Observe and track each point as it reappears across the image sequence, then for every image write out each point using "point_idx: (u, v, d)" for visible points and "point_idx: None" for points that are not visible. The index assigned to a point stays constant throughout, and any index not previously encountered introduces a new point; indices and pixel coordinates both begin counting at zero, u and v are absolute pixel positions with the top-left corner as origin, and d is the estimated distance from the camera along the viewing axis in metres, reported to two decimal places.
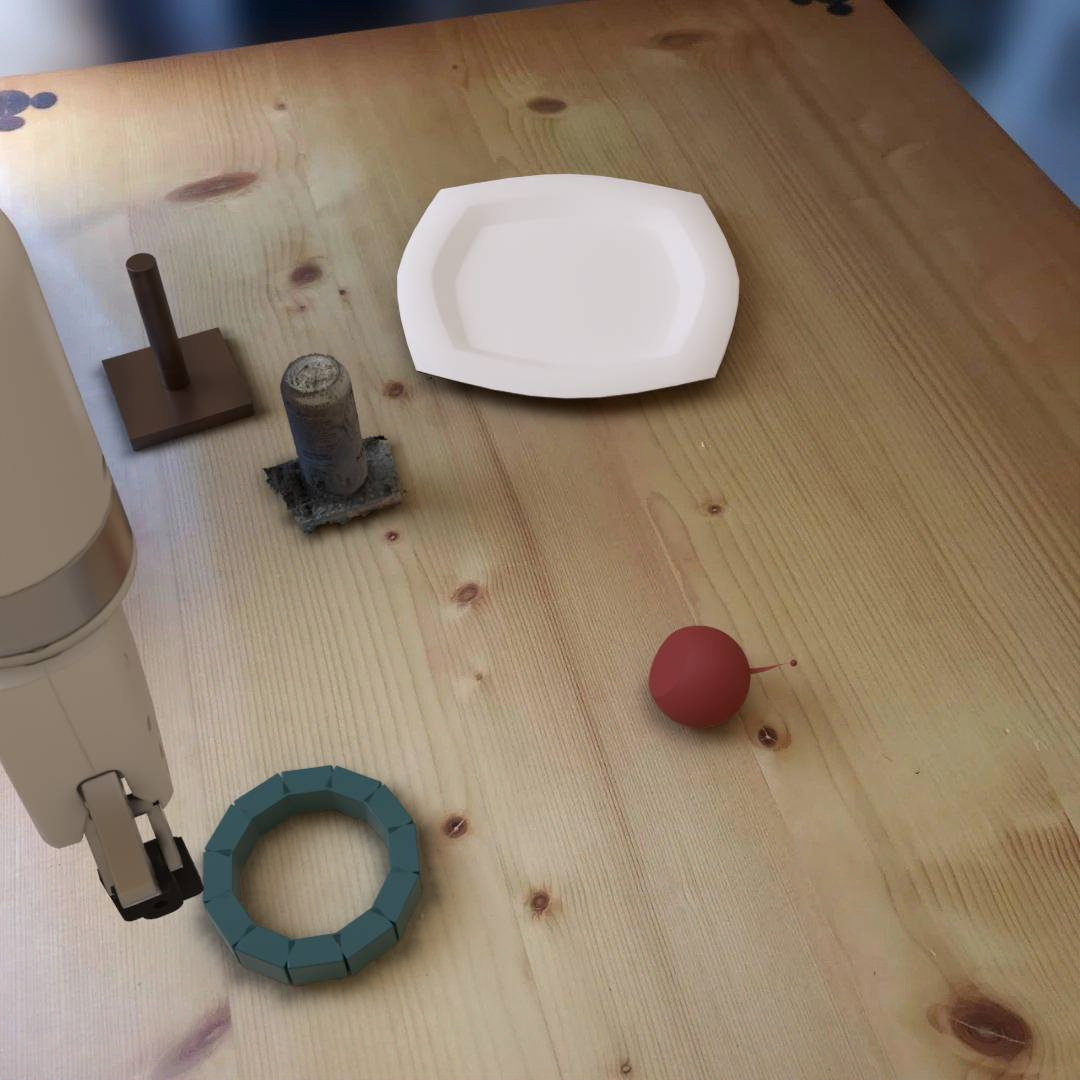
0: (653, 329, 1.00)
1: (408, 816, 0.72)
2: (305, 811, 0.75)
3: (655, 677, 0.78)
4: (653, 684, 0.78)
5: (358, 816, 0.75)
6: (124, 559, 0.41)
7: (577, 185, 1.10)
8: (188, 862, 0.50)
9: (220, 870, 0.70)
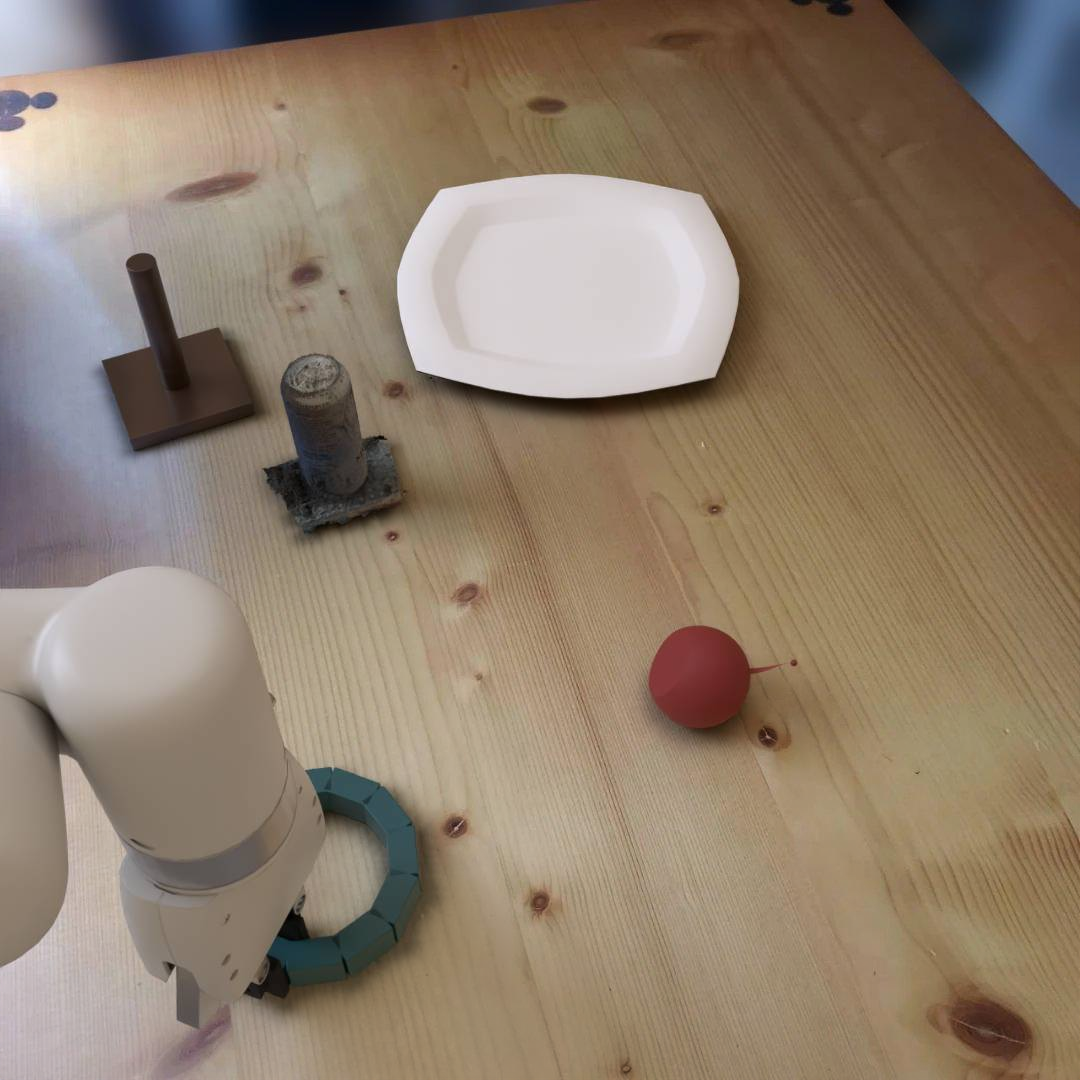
0: (653, 329, 1.00)
1: (407, 817, 0.72)
2: None
3: (655, 677, 0.78)
4: (653, 684, 0.78)
5: (357, 818, 0.74)
6: (253, 865, 0.54)
7: (577, 185, 1.10)
8: (275, 979, 0.66)
9: None
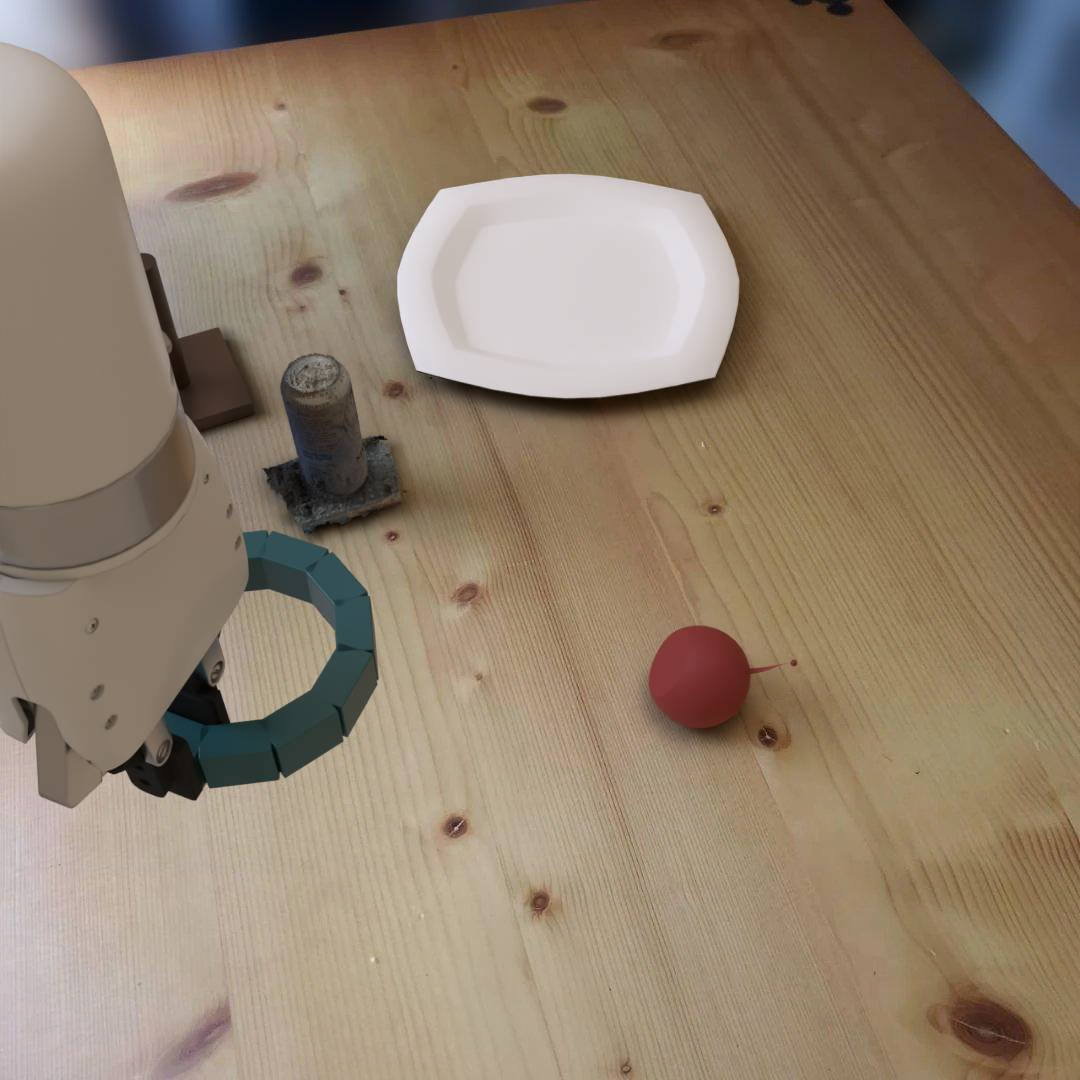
0: (653, 329, 1.00)
1: (362, 587, 0.57)
2: None
3: (655, 677, 0.78)
4: (653, 684, 0.78)
5: (299, 595, 0.59)
6: (126, 536, 0.38)
7: (577, 185, 1.10)
8: (181, 767, 0.51)
9: None
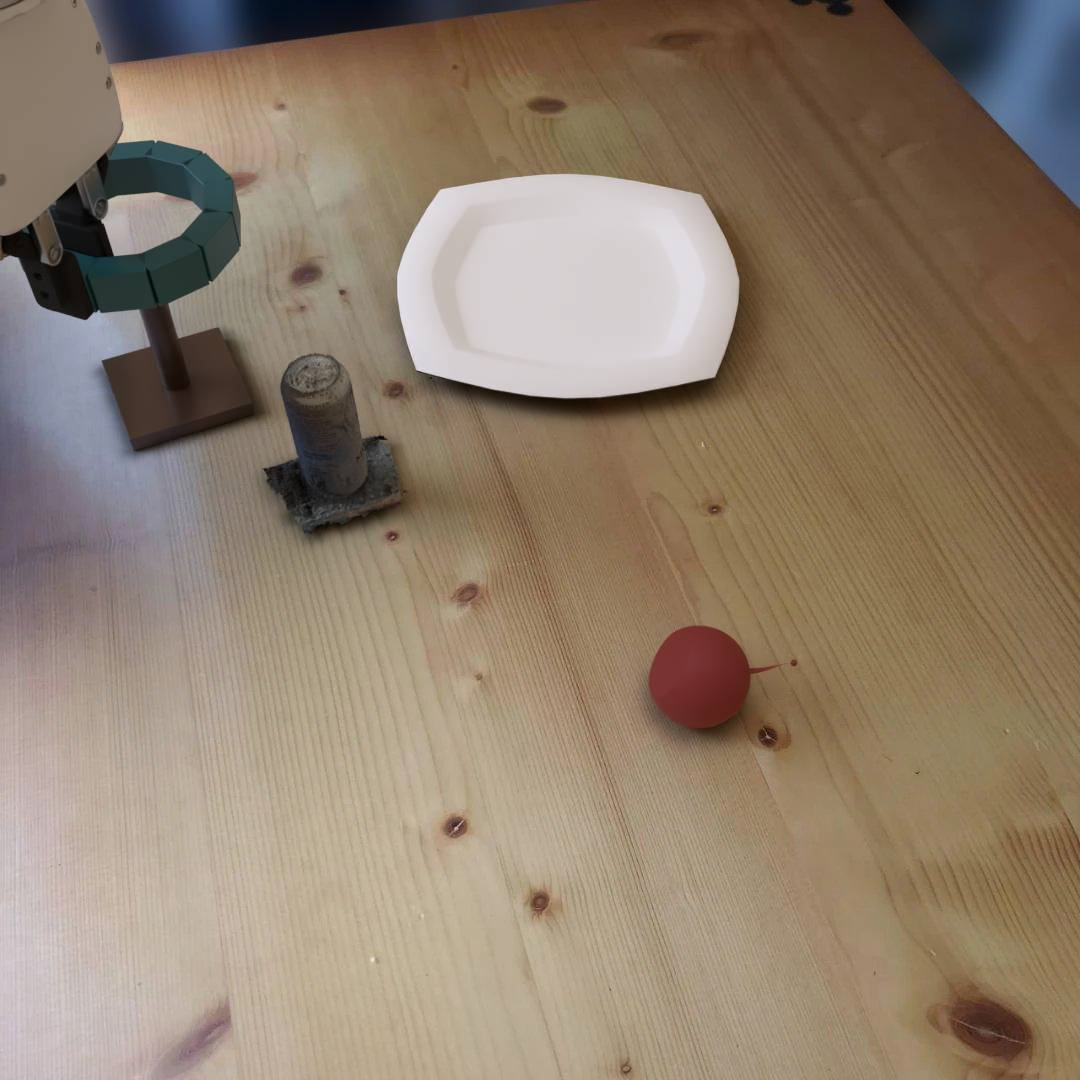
0: (653, 329, 1.00)
1: (227, 173, 0.71)
2: (128, 191, 0.74)
3: (655, 677, 0.78)
4: (653, 684, 0.78)
5: (181, 193, 0.73)
6: None
7: (577, 185, 1.10)
8: (72, 278, 0.65)
9: None
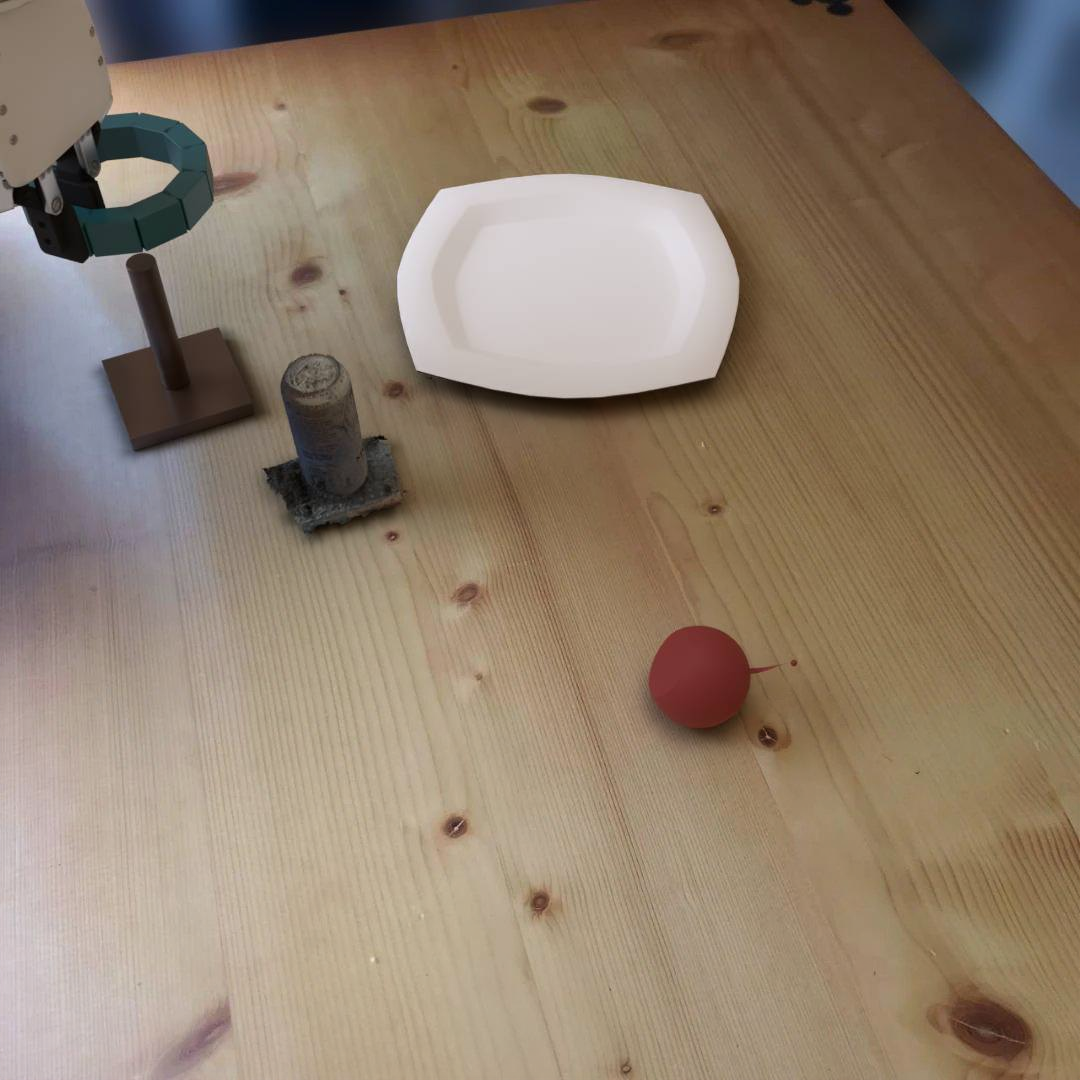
0: (653, 329, 1.00)
1: (201, 139, 0.83)
2: (116, 156, 0.86)
3: (655, 677, 0.78)
4: (653, 684, 0.78)
5: (162, 158, 0.85)
6: None
7: (577, 185, 1.10)
8: (71, 226, 0.77)
9: None
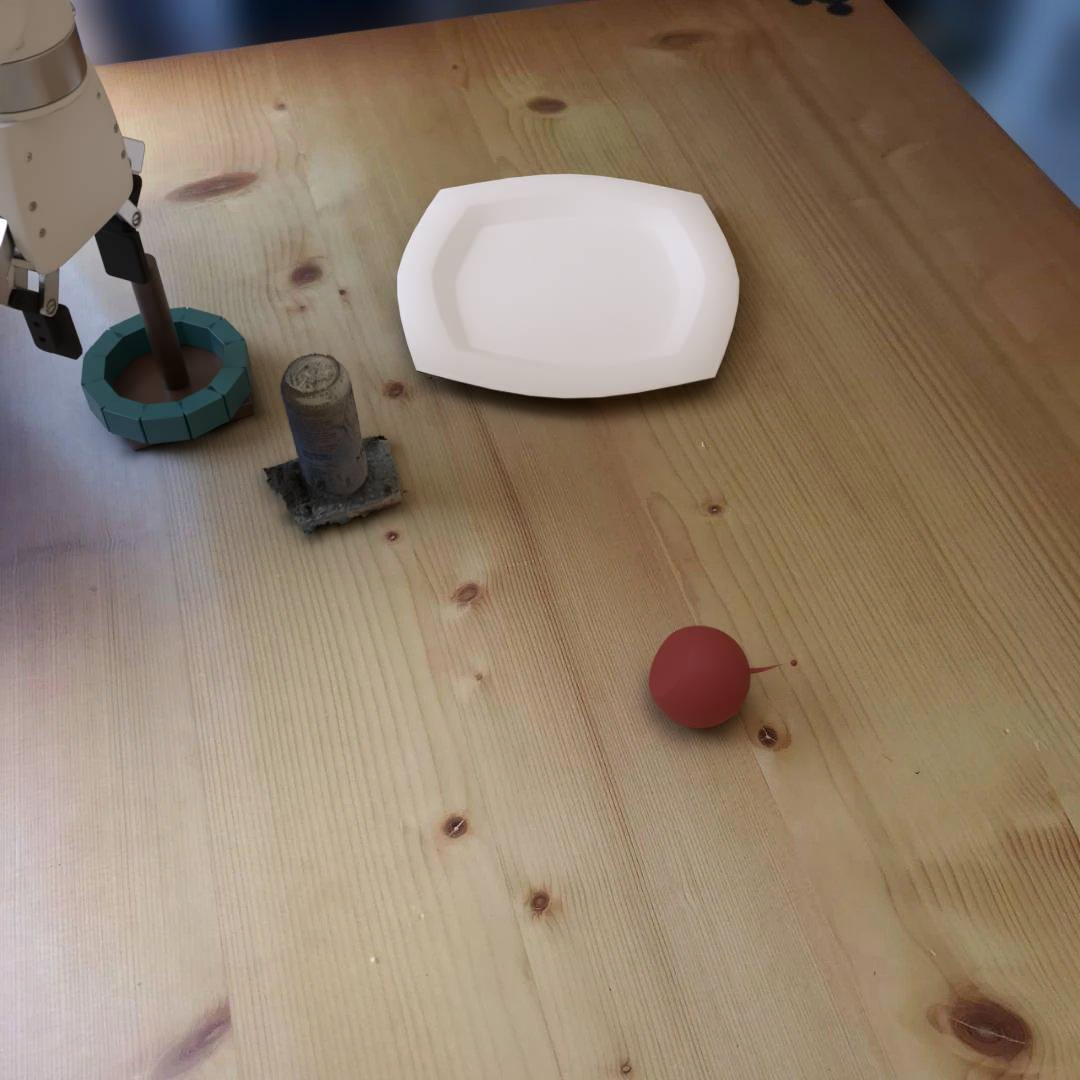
0: (653, 329, 1.00)
1: (241, 335, 0.95)
2: None
3: (655, 677, 0.78)
4: (653, 684, 0.78)
5: (206, 346, 0.98)
6: (45, 95, 0.69)
7: (577, 185, 1.10)
8: (65, 326, 0.79)
9: (95, 366, 0.93)
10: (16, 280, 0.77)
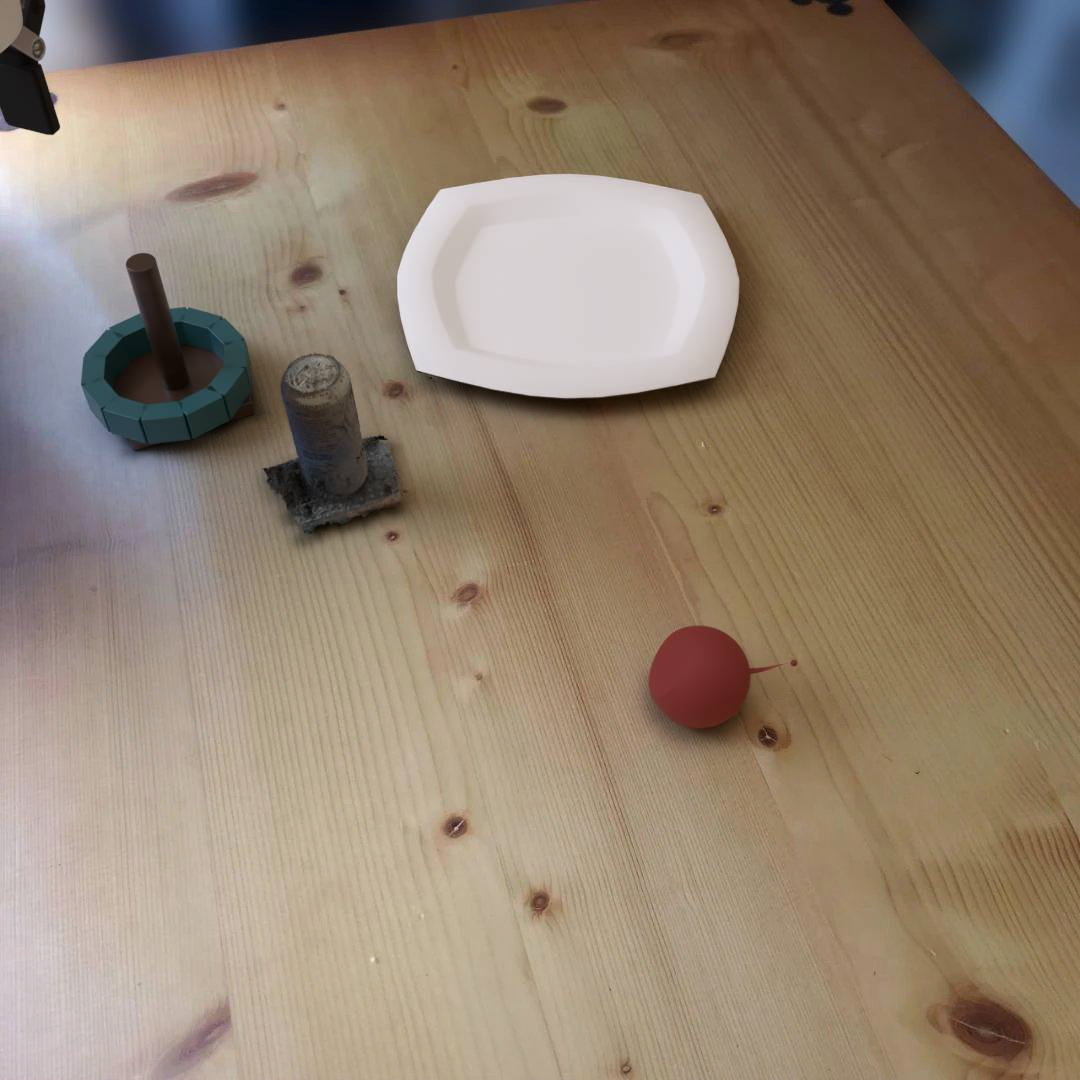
0: (653, 329, 1.00)
1: (241, 335, 0.95)
2: None
3: (655, 677, 0.78)
4: (653, 684, 0.78)
5: (206, 346, 0.98)
6: None
7: (577, 185, 1.10)
8: None
9: (95, 366, 0.93)
10: None
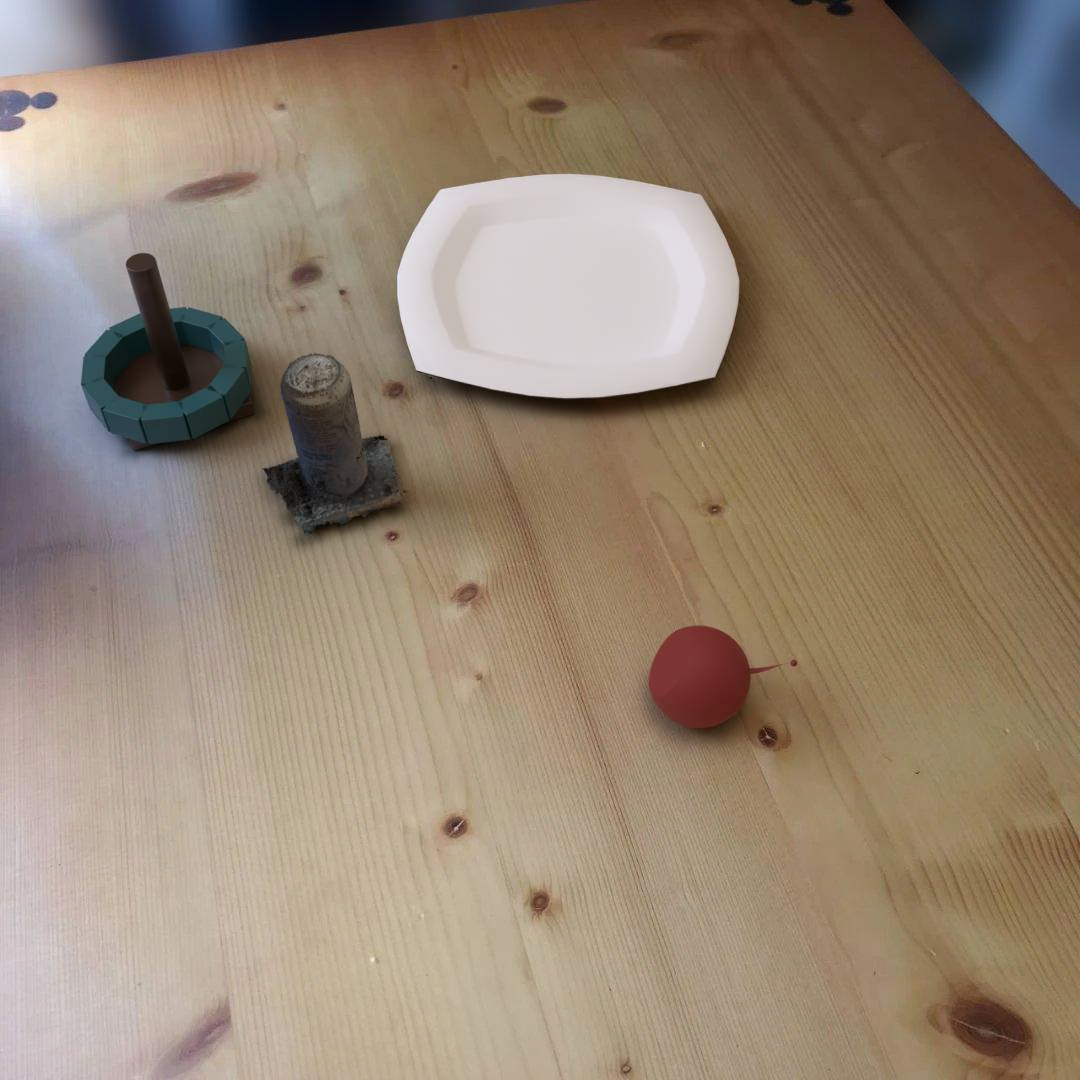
0: (653, 329, 1.00)
1: (241, 335, 0.95)
2: None
3: (655, 677, 0.78)
4: (653, 684, 0.78)
5: (206, 346, 0.98)
6: None
7: (577, 185, 1.10)
8: None
9: (95, 366, 0.93)
10: None
